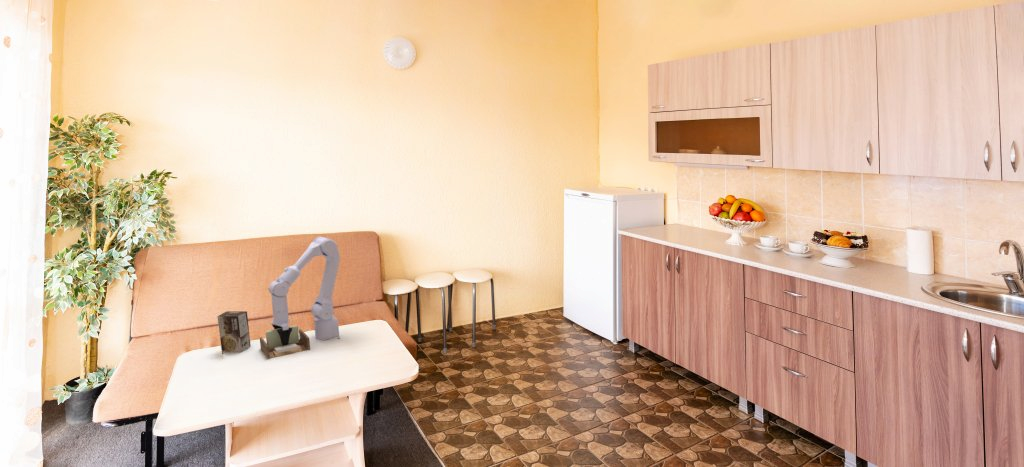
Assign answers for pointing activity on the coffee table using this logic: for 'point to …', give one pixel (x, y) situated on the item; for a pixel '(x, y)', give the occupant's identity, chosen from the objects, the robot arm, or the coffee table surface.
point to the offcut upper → (285, 348)
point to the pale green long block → (274, 337)
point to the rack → (302, 342)
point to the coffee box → (234, 331)
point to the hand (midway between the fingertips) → (283, 342)
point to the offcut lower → (287, 352)
